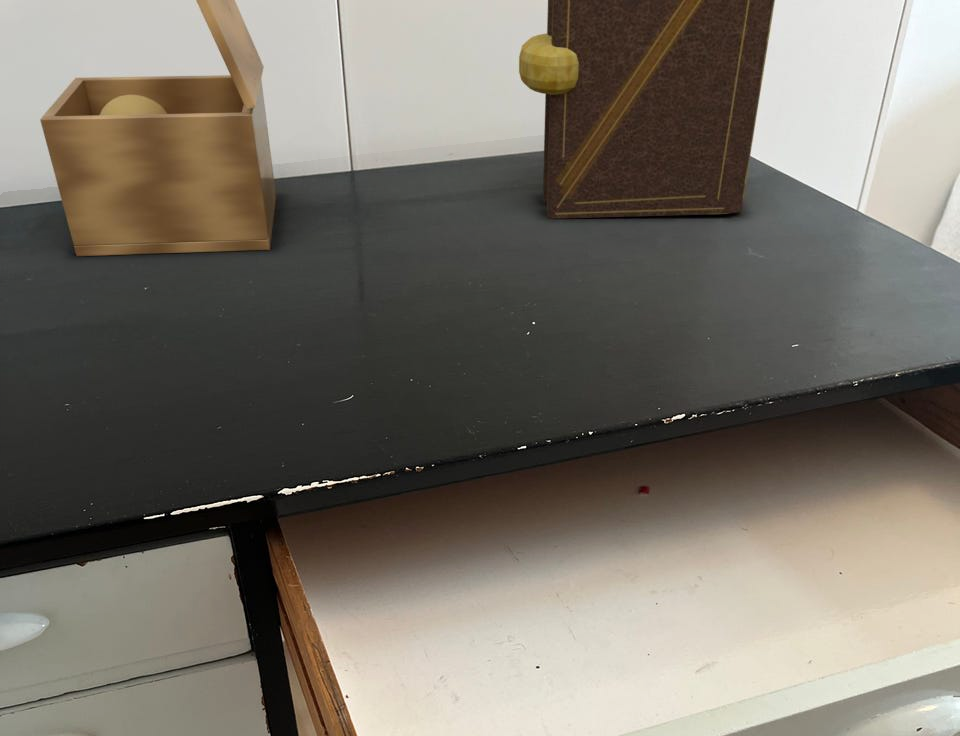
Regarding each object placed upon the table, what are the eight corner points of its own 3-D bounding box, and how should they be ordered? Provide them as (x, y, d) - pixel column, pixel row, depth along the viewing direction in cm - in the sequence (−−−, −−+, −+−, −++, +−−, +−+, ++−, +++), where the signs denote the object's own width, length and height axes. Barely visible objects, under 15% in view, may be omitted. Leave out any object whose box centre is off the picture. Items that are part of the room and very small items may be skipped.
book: (729, 189, 99) (775, -121, 82) (749, 217, 92) (803, -113, 76) (515, 194, 98) (517, -115, 82) (520, 223, 92) (524, -107, 75)
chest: (76, 256, 84) (39, 119, 77) (105, 202, 95) (75, 77, 88) (270, 249, 86) (251, 114, 79) (276, 197, 97) (260, 74, 90)
